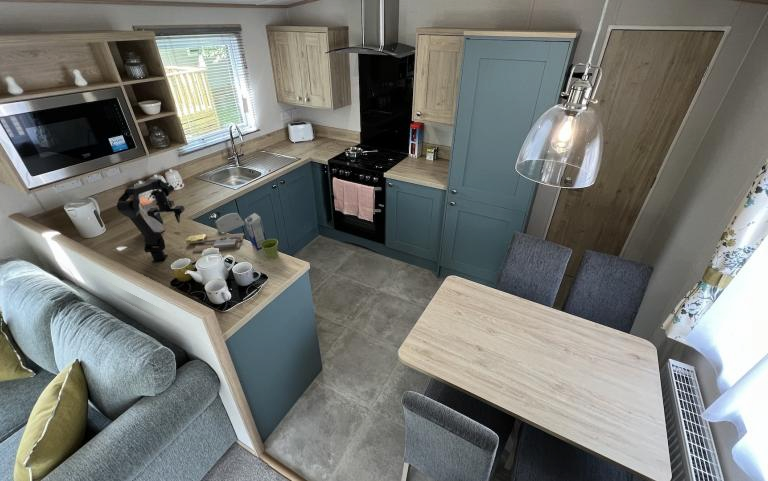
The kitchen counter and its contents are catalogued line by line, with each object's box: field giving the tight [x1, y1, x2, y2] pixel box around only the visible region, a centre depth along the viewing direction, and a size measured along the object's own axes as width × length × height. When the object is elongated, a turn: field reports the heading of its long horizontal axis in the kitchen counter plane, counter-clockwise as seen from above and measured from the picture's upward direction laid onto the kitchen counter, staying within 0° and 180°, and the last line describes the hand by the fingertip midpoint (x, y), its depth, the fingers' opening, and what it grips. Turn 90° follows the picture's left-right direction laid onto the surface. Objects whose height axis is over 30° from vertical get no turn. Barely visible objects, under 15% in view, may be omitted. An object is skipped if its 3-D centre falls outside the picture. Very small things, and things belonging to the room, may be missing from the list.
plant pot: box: [261, 238, 279, 260], centre depth 192 cm, size 9×9×9 cm
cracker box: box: [139, 196, 166, 234], centre depth 218 cm, size 14×6×21 cm, turn 49°
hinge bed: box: [192, 233, 245, 254], centre depth 206 cm, size 16×26×4 cm, turn 98°
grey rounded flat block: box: [214, 212, 246, 235], centre depth 221 cm, size 17×5×10 cm, turn 138°
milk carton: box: [244, 212, 267, 251], centre depth 198 cm, size 7×7×20 cm
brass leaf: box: [185, 233, 207, 245], centre depth 208 cm, size 6×10×2 cm, turn 98°
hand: (171, 223), depth 206 cm, fingers open, 9 cm apart
